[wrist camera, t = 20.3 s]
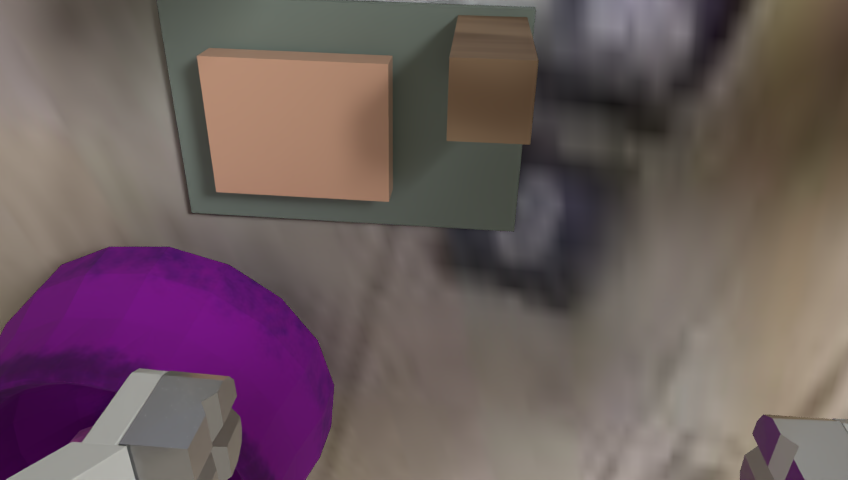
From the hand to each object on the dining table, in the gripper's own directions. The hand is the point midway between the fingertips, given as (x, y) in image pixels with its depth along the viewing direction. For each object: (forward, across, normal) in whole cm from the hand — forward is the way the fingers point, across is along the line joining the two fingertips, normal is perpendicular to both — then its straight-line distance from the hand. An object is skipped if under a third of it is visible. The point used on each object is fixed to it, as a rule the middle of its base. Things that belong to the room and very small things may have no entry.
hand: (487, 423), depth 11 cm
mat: (+25, +7, +4) cm, 26 cm away
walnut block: (+24, 0, 0) cm, 25 cm away
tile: (+23, +4, +4) cm, 24 cm away
